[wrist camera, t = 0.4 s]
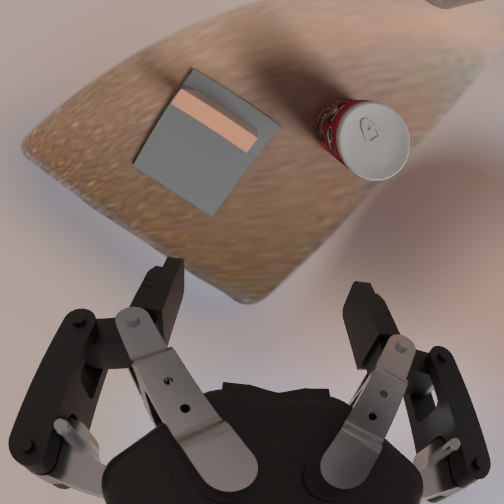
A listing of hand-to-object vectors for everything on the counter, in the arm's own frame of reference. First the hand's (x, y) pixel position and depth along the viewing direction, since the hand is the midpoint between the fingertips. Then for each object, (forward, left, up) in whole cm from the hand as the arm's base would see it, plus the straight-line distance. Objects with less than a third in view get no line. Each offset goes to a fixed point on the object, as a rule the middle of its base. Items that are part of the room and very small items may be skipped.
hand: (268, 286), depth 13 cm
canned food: (-10, +6, -26) cm, 29 cm away
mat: (+2, -7, -26) cm, 27 cm away
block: (-2, -7, -26) cm, 27 cm away
